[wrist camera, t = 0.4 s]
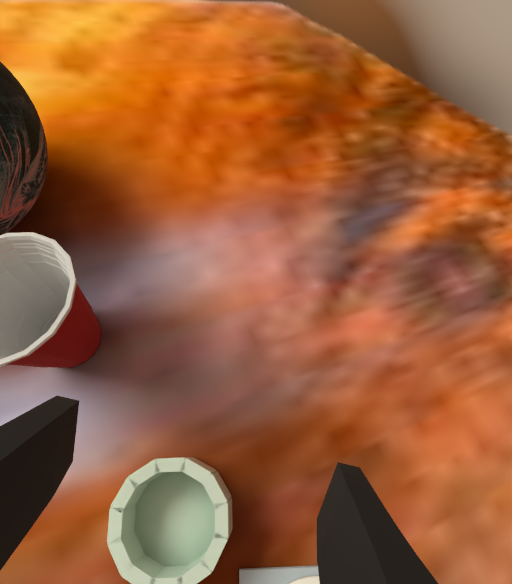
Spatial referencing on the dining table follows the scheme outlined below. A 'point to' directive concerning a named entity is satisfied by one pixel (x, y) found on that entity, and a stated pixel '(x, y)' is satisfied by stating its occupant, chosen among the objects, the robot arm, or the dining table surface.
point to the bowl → (170, 522)
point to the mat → (275, 574)
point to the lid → (306, 580)
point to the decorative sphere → (19, 152)
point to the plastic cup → (42, 305)
